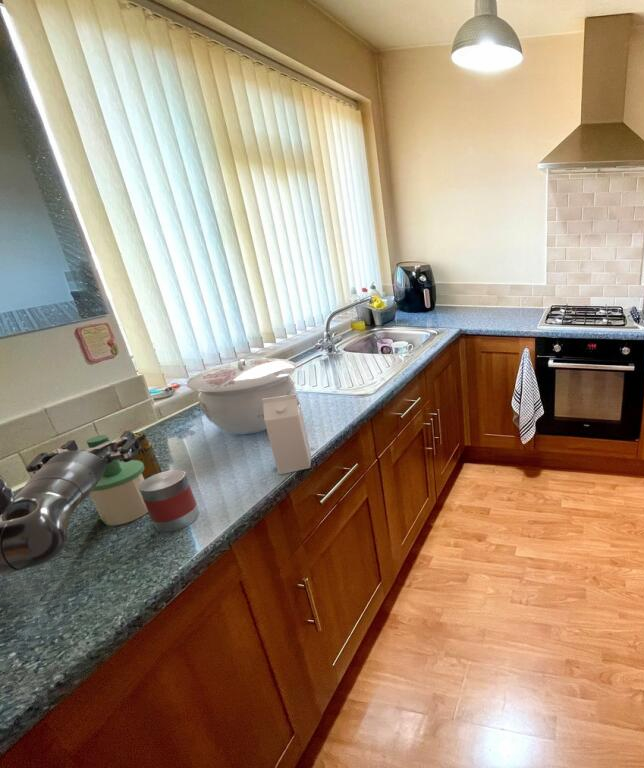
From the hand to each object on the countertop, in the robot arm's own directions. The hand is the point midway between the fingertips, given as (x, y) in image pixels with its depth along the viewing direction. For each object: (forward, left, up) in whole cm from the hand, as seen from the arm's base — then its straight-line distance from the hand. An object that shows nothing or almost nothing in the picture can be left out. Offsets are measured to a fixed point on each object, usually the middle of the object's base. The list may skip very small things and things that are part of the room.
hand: (102, 439), depth 81 cm
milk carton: (+32, +2, -17) cm, 36 cm away
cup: (0, -2, -17) cm, 17 cm away
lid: (0, -2, -8) cm, 8 cm away
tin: (+10, -10, -17) cm, 22 cm away
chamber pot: (+22, +33, -17) cm, 43 cm away
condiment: (+1, +10, -17) cm, 20 cm away
